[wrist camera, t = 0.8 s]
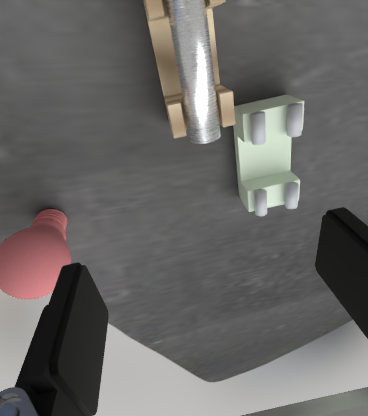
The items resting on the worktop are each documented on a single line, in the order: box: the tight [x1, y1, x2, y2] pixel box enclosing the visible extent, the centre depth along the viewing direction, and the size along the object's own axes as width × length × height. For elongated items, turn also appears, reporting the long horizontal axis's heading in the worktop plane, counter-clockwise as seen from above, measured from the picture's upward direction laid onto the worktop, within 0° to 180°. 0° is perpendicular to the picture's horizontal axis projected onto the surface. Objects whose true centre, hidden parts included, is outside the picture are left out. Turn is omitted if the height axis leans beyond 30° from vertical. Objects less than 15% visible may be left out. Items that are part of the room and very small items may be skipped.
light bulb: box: [0, 209, 71, 299], centre depth 30 cm, size 7×7×12 cm
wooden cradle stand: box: [143, 0, 235, 138], centre depth 25 cm, size 12×6×6 cm, turn 10°
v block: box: [233, 94, 304, 216], centre depth 31 cm, size 12×6×5 cm, turn 11°
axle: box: [165, 0, 221, 144], centre depth 23 cm, size 14×3×3 cm, turn 10°
